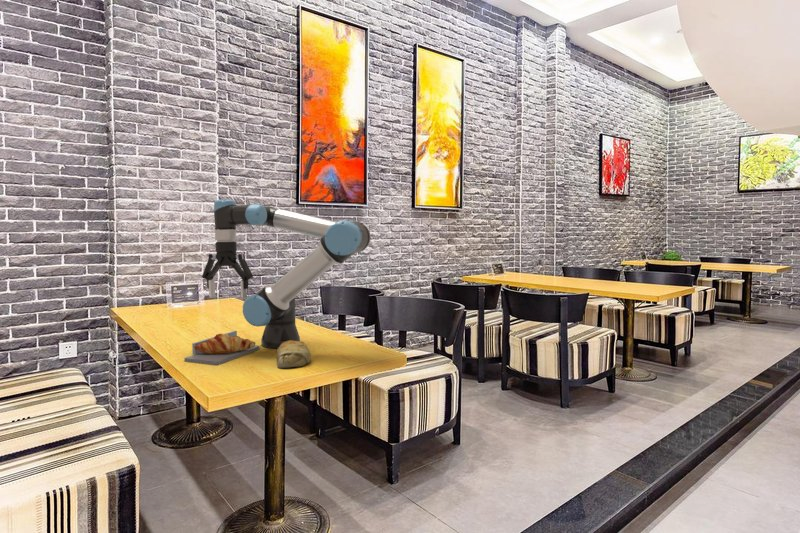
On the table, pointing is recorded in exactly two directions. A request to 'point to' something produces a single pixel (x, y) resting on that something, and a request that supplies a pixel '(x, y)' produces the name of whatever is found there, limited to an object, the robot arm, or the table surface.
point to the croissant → (224, 344)
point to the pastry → (292, 354)
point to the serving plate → (218, 356)
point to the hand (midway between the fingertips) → (228, 297)
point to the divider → (233, 333)
